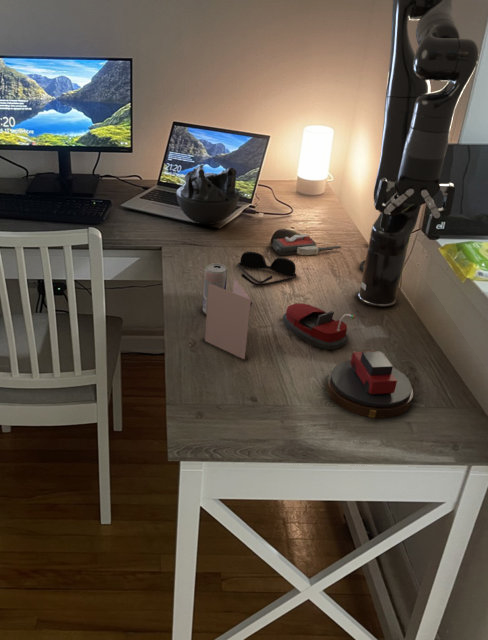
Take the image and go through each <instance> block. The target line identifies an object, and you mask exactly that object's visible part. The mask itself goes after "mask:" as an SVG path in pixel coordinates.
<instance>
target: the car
mask: <svg viewBox="0 0 488 640" xmlns="http://www.w3.org/2000/svg"><path fill="white" fill-rule="evenodd" d="M331 371H332V373H331V382H332V385H333V386H334V388H335V389H336V390H337V391H338V392H339V393H340V394H342V395H343V396H345V397H346V398H348V399H350V400H352V401H355V402H357V403H361V404H364V405H369V406H375V407H389V406H395V405H398V404H401V403H403V402H405V401H406V400H407V399H408V398H409V397H410V394H411V391H412V389H413V386H412V383H411V380H410V379H409V378H408V376H406V374H404V373H403V372H402V371H400V370H399V369H397V368H396V367H394V365H393V364H392V363H391V362H390V360H389V359H388V358H387V356H386V354H385V353H384V352H383V351H376V350H370V351H352V355H351V359H350V360H345V361H343V362H340V363H338V364H337V365H335V366H334V367H333V368H332V369H331Z"/></svg>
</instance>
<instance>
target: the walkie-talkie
mask: <svg viewBox="0 0 488 640" xmlns="http://www.w3.org/2000/svg"><path fill="white" fill-rule="evenodd" d="M272 249H273V250H274V251H275V252H276V254H278V255H280V256H289V255H301V256H311V255H312V256H313V255H318V254H319V253H321V252H327V251H328V252H329V251H333V250H338V249H339V250H340V249H342V246H341V245H336V246H335V245H334V246H324V247H318V246H317V242H316V241H314V240H313V238H311V237H310V236H309V235H308V234H307V233H302V234H301V233H300V234H299V233H298V234H294V235H293V236H291V237H288V236H285V237H284V238H283V237H282V238H274V239H273V240H272Z"/></svg>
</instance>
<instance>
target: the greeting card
mask: <svg viewBox="0 0 488 640" xmlns="http://www.w3.org/2000/svg"><path fill="white" fill-rule="evenodd" d="M232 285H233V286H232V291H231V290H227V289H226V290H225V289H223V288H220V287H218V286H215V285H213V284H210V283H209V288H208V303H207V314H206V317H205V318H206V320H205V335H204V341H205V342H206V343H209V344H210V345H212V346H215V347H217V348H219V349H221V350H223V351H225V352H228V353H229V354H231V355H234V356H235V357H238V358H241V359H242V360H245V359H246V351H247V342H248V332H249V323H250V322H249V321H250V312H251V307H252V305H253V302H252V299H251V298H250V296H249V295H248V294H247V292H246V291H245V290H244V288H243V286H242V285H241V284H240V282H239V281H238V280H237V278H236V277H235V276H234V277H233V284H232Z"/></svg>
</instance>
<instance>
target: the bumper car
mask: <svg viewBox="0 0 488 640" xmlns="http://www.w3.org/2000/svg"><path fill="white" fill-rule="evenodd" d="M334 315H335V312H334V311H333V310H331V311H327V312H326V311H325V310H323V309H321V308H318V307H316V306H314V305H311V304H307V303H299V302H296V303H293V304H290V305H288V306H287V308H286V311H285V313H284V314H283V316H282V324H283V325H284V327H285V328H287V329H288V330H289V332H290V333H292V334H294V335H295V336H296V337H298V338H299V339H301V340H302V341H304V342H306V343H308V344H309V345H312V346H314V347H316V348H319V349H321V350H325V351H330V350H336V349H339V348H342V347H344V346H346V345H347V344H348V342H349V335H348V334H347V331H348V324H347V323H346V322H344V321H343V320H344V318H345V317H350V319H351V320H354V319H355V318H356V316H355V314H350V313H345V314H344V315H342V316H341V318H340V319H338V320H335V319H333V318H334Z"/></svg>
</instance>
